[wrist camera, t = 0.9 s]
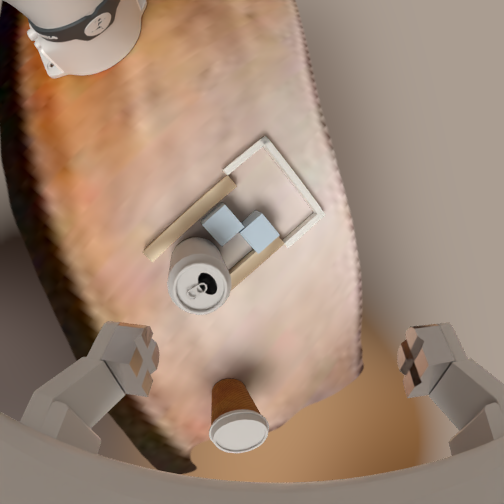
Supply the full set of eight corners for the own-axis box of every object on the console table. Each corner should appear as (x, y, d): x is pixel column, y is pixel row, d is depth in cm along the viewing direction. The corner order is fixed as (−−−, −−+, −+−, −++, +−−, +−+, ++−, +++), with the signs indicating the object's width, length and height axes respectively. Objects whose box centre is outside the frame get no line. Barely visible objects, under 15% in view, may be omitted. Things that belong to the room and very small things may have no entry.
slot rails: (144, 249, 42) (142, 252, 41) (226, 175, 42) (227, 175, 41) (203, 309, 46) (204, 313, 45) (281, 241, 46) (284, 243, 45)
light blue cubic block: (234, 228, 44) (239, 232, 41) (255, 210, 44) (262, 213, 41) (252, 247, 46) (258, 254, 42) (271, 230, 46) (280, 234, 42)
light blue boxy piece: (200, 220, 43) (202, 224, 39) (221, 202, 43) (225, 204, 39) (218, 240, 44) (221, 246, 41) (239, 222, 44) (244, 227, 41)
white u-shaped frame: (221, 170, 42) (223, 169, 40) (262, 136, 42) (265, 135, 40) (285, 246, 47) (288, 248, 45) (321, 213, 47) (325, 214, 45)
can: (230, 268, 46) (245, 299, 34) (188, 293, 45) (190, 331, 34) (204, 226, 43) (212, 244, 32) (161, 252, 43) (153, 280, 31)
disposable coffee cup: (224, 363, 50) (235, 409, 38) (264, 384, 53) (283, 428, 41) (192, 396, 50) (197, 444, 39) (232, 415, 53) (245, 460, 42)
